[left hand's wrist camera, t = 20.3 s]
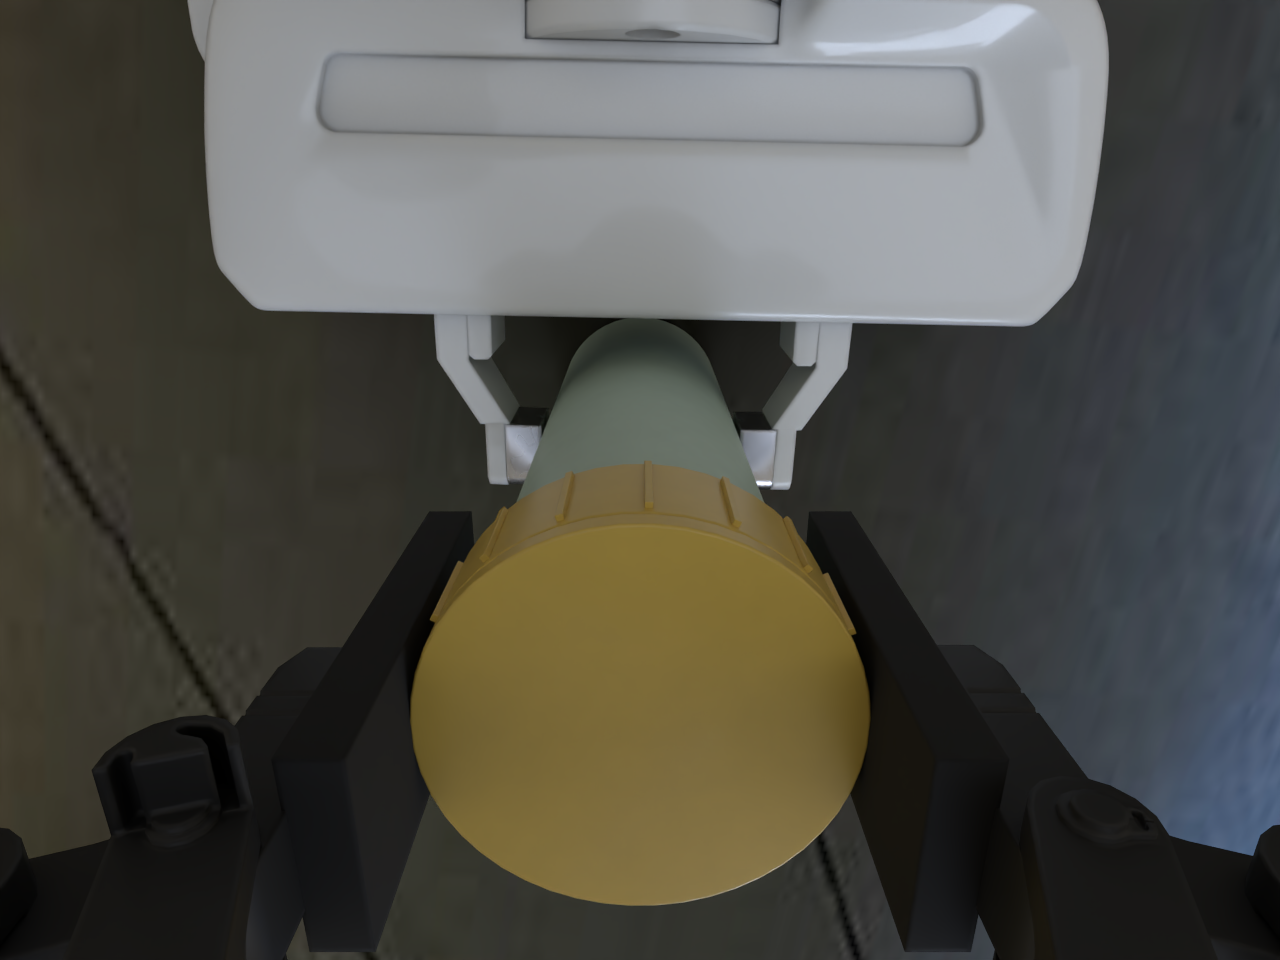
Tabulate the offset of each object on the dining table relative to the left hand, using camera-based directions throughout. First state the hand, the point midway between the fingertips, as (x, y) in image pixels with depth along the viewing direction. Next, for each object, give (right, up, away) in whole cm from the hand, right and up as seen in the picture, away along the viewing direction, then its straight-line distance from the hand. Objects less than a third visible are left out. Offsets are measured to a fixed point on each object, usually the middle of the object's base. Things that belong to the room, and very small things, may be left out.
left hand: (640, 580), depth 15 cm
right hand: (0, +2, +7) cm, 8 cm away
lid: (0, -1, -4) cm, 4 cm away
